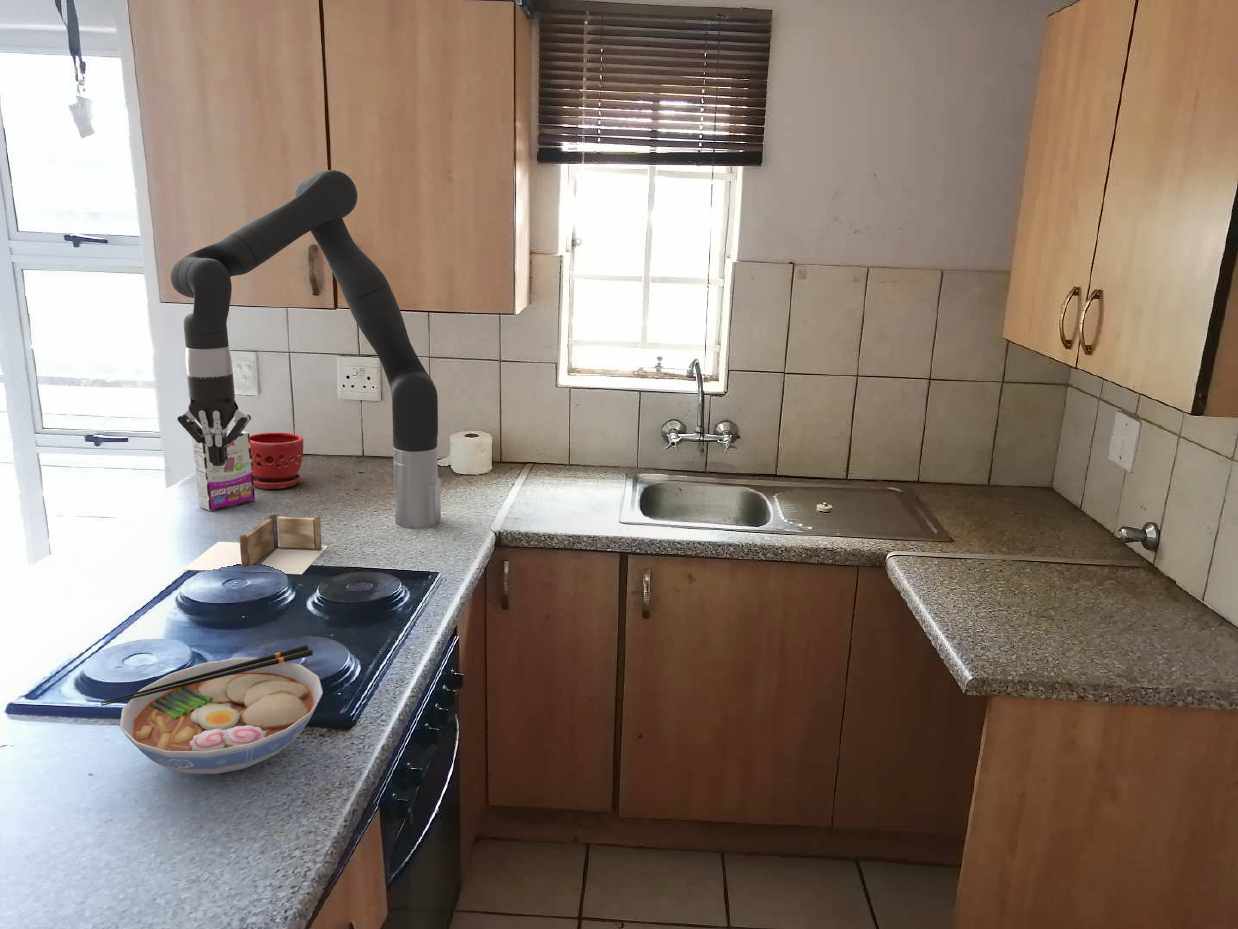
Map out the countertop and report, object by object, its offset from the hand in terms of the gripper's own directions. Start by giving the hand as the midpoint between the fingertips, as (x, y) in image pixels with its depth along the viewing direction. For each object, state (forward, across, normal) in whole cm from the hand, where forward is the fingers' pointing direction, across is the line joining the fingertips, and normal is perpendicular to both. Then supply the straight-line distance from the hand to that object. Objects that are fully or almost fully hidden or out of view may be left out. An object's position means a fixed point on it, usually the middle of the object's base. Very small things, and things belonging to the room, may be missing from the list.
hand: (219, 465), depth 168 cm
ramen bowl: (+20, -26, +62) cm, 70 cm away
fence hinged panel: (+19, -5, -1) cm, 19 cm away
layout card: (+19, -5, -2) cm, 20 cm away
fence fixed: (+19, -10, -8) cm, 23 cm away
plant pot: (+20, +10, -52) cm, 57 cm away
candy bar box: (+20, +15, -35) cm, 43 cm away
